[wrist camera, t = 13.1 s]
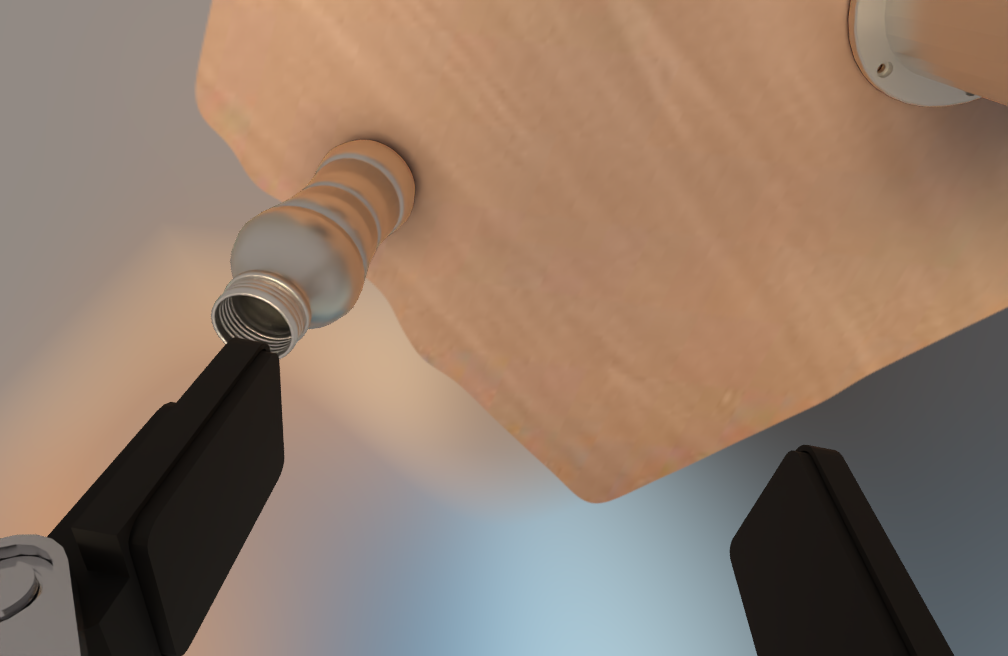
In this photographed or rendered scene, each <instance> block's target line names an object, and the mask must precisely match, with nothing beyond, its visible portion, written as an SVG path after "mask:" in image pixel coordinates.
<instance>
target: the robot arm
mask: <svg viewBox="0 0 1008 656" xmlns="http://www.w3.org/2000/svg"><path fill="white" fill-rule="evenodd" d="M848 22H849V40H850V44H851V48H852V52H853V55H854V59H855V61H856V63H857V64H858V66H859V68H860V70H861V72H862V74H863V75H864V76H865V77H866V78H867V79H868V80H869V81H870V83H871V84H872V85H873V86H874V87H875V88H877V89H878V90H880V91H882V92H883V93H885V94H886V95H888V96H890V97H892V98H894V99H897V100H899V101H902V102H904V103H908V104H912V105H917V106H922V107H946V106H952V105H958V104H963V103H968V102H971V101H973V100H976V99H979V98H982V97H983V98H986V99H989V100H992V101H995V102H997V103H1000V104H1003V105H1006V106H1008V0H851V3H850V10H849V17H848ZM881 64H882V68H881V69H880V70H879V71H878V72H877V69H878V67H879V66H880V65H881ZM280 386H281V385H280V366H279V356H278V354H276V353H272V352H270V347H269V345H268V344H267V343H263V342H258V341H253V340H248V339H242V338H237V337H234V338H232V339H230V340H229V341H228V342H227V343H226V345H225V346H224V347H223V348H222V349H221V351H220V352H219V353H218V354H217V355H216V356H215V358H214V359H213V360H212V361H211V363H210V364H209V365H208V366H207V367H206V368H205V370H204V371H203V372H202V373H201V374H200V375H199V377H198V378H197V379H196V380H195V381H194V383H193V384H192V385H191V386H190V387H189V388H188V390H187V391H186V392H185V393H184V394H183V395H182V397H181V398H180V399H179V400H178V401H177V403H174V402H169V403H167V404H165V405H163V406H162V407H161V408H160V409H159V410H158V411H157V412H156V413H155V414H154V415H153V416H152V417H151V418H150V420H149V421H148V422H147V423H146V424H145V425H144V426H143V428H142V429H141V430H140V431H139V432H138V433H137V434H136V436H135V437H134V438H133V439H132V440H131V441H130V442H129V444H128V445H127V446H126V447H125V448H124V449H123V451H122V452H121V453H120V454H119V455H118V456H117V457H116V458H115V460H114V461H113V462H112V463H111V464H110V465H109V467H108V468H107V469H106V470H105V471H104V472H103V473H102V475H101V476H100V477H99V478H98V479H97V480H96V481H95V483H94V484H93V485H92V486H91V487H90V488H89V490H88V491H87V492H86V493H85V494H84V495H83V496H82V497H81V499H80V500H79V501H78V502H77V503H76V504H75V505H74V507H73V508H72V509H71V510H70V511H69V512H68V513H67V515H66V516H65V517H64V518H63V519H62V520H61V522H60V523H59V524H58V525H57V526H56V527H55V529H53V531H52V532H51V533H50V534H49V535H48V536H47V537H44V536H40V535H14V536H10V537H5V538H0V656H182V655H184V654H185V652H186V651H187V649H188V648H189V646H190V644H191V643H192V640H193V639H194V637H195V635H196V633H197V631H198V629H199V628H200V626H201V624H202V622H203V620H204V618H205V616H206V614H207V613H208V611H209V609H210V607H211V605H212V603H213V601H214V599H215V598H216V596H217V594H218V592H219V590H220V588H221V586H222V584H223V582H224V580H225V579H226V577H227V575H228V573H229V571H230V569H231V567H232V565H233V564H234V562H235V560H236V558H237V556H238V554H239V552H240V550H241V549H242V547H243V545H244V543H245V541H246V539H247V537H248V535H249V534H250V532H251V530H252V528H253V526H254V524H255V522H256V520H257V518H258V516H259V515H260V513H261V511H262V509H263V507H264V505H265V503H266V501H267V500H268V498H269V496H270V494H271V492H272V490H273V488H274V486H275V485H276V483H277V481H278V479H279V476H280V475H281V472H282V468H283V464H284V442H283V423H282V405H281V387H280ZM730 559H731V563H732V567H733V570H734V574H735V577H736V581H737V584H738V587H739V591H740V595H741V599H742V602H743V605H744V609H745V613H746V616H747V620H748V623H749V627H750V631H751V634H752V637H753V641H754V645H755V648H756V651H757V655H758V656H954V654H953V653H952V651H951V649H950V647H949V646H948V644H947V642H946V640H945V638H944V636H943V635H942V633H941V631H940V629H939V628H938V626H937V624H936V622H935V620H934V619H933V617H932V615H931V613H930V612H929V610H928V608H927V606H926V604H925V603H924V601H923V599H922V597H921V595H920V594H919V592H918V590H917V588H916V587H915V585H914V583H913V581H912V579H911V578H910V576H909V574H908V572H907V571H906V569H905V567H904V565H903V563H902V562H901V560H900V558H899V556H898V554H897V553H896V551H895V549H894V547H893V546H892V544H891V542H890V540H889V539H888V537H887V535H886V533H885V531H884V529H883V528H882V526H881V524H880V522H879V521H878V519H877V517H876V515H875V513H874V512H873V510H872V508H871V506H870V504H869V503H868V501H867V499H866V498H865V496H864V494H863V492H862V491H861V488H860V487H859V485H858V483H857V481H856V479H855V478H854V476H853V474H852V473H851V471H850V469H849V467H848V465H847V463H846V462H845V460H844V458H843V457H842V455H841V454H840V453H839V452H837V451H836V450H831V449H826V448H820V447H815V446H810V445H802V446H800V447H798V449H797V450H796V451H790V452H788V454H786V456H785V457H784V459H783V461H782V462H781V464H780V465H779V467H778V469H777V470H776V472H775V473H774V475H773V476H772V478H771V479H770V481H769V483H768V484H767V486H766V487H765V489H764V490H763V492H762V494H761V495H760V497H759V498H758V500H757V501H756V503H755V505H754V506H753V508H752V509H751V511H750V513H749V514H748V516H747V517H746V519H745V520H744V522H743V524H742V525H741V527H740V528H739V530H738V531H737V533H736V535H735V536H734V538H733V540H732V542H731V546H730Z"/></svg>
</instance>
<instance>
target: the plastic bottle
mask: <svg viewBox="0 0 1008 656" xmlns="http://www.w3.org/2000/svg"><path fill="white" fill-rule="evenodd" d="M414 196H415V184H414V179H413V176H412V173H411V171H410V169H409V167H408V165H407V164H406V163H405V161H404V160H403V159H402V157H401V156H399V155H398V154H397V153H396V152H395V151H394V150H392V149H391V148H389V147H388V146H386V145H384V144H381V143H379V142H376V141H372V140H355V141H350V142H347V143H343V144H341V145H339V146H336V147H335V148H333V149H332V150H331V151H329V152H328V154H327V155H326V156H325V157H324V159H323V160H322V162H321V163H320V165H319V166H318V169H317V171H316V173H315V175H314V177H313V179H312V180H311V181H310V182H309V184H308V185H307V186H306V188H304V189H303V190H301V191H300V192H299V193H297V194H296V195H295V196H293V197H292V198H290V199H288V200H286V201H284V202H282V203H280V204H278V205H276V206H274V207H272V208H270V209H268V210H266V211H263V212H261V213H260V214H258V215H257V216H255V217H254V218H252V219H251V220H250V221H248V222H247V223H246V224H245V225H244V226H243V227H242V229H241V230H240V231H239V233H238V236H237V238H236V240H235V243H234V246H233V249H232V251H231V259H230V263H231V272H232V276H233V279H232V280H231V281H230V282H229V284H228V285H227V286H226V288H225V290H224V292H223V294H222V295H221V296H220V297H219V298H218V299H217V300H216V302H215V304H214V306H213V308H212V314H211V319H212V324H213V327H214V330H215V331H216V333H217V335H218V336H219V338H220V339H221V340H222V341H223V342H224V343H225V344H226V343H227V342H228V341H229V340H230V339H232V338H234V337H237V338H242V339H248V340H253V341H258V342H263V343H267V344H268V345H269V347H270V352H272V353H276V354H278V356H279V359H281V358H283V357H285V356H286V355H287V354H288V353H289V352H290V351H291V350H292V349H293V348H294V346H295V345H296V343H297V342H298V341H299V340H300V339H301V338H302V337H303V336H304V334H305V333H306V332H307V330H308V329H314V328H321V327H324V326H327V325H329V324H331V323H333V322H334V321H336V320H338V319H339V318H341V317H343V316H344V315H346V314H347V313H348V312H349V311H350V310H351V309H352V308H353V306H354V305H355V303H356V301H357V300H358V298H359V295H360V293H361V291H362V288H363V284H364V281H365V277H366V274H367V271H368V267H369V264H370V262H371V260H372V258H373V256H374V254H375V252H376V250H377V248H378V246H379V245H380V244H381V243H382V242H383V241H384V240H385V238H386V237H387V236H389V235H390V234H392V233H393V232H395V231H396V230H397V229H398V228H399V227H400V226H401V225H402V224H403V223H404V222H405V221H406V220H407V219H408V217H409V215H410V214H411V211H412V208H413V204H414Z"/></svg>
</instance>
